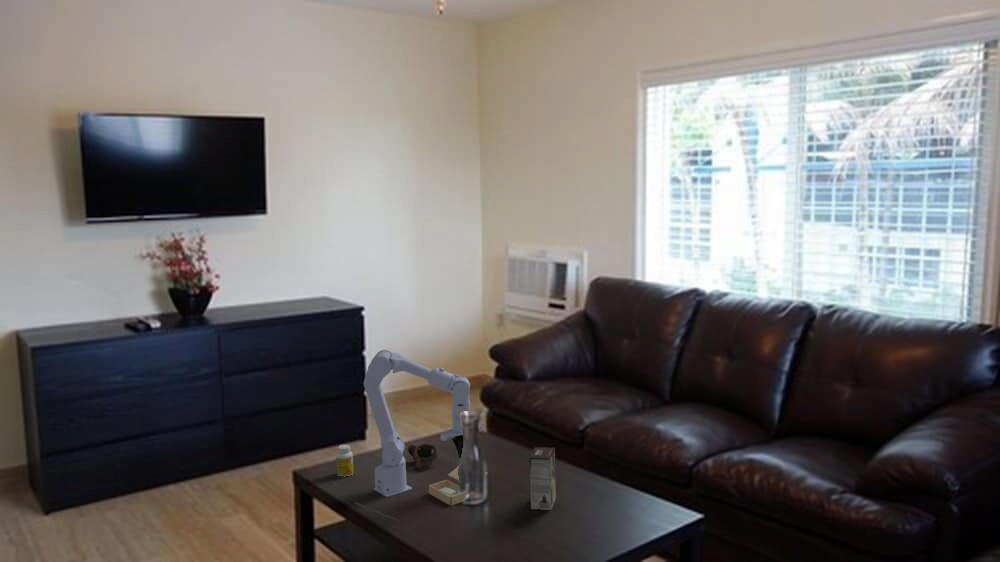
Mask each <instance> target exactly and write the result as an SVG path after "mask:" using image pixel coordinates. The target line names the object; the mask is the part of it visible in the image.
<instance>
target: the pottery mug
mask: <svg viewBox="0 0 1000 562" xmlns="http://www.w3.org/2000/svg"><path fill="white" fill-rule="evenodd" d="M432 451H433V452H432ZM407 452H408V454H409V455H410V456H411V458H413V461H416V462H415V467H416V468H417V469H419V468H422V467H425V466H429V465H432V464H433V463H434V462H435V461H436V460H437V459H439V455H438V452H439V450H437V447H436V446H435V445H434V444H431V443H428V442H424V443H420V444H418V445H414V444H410V445H409V446H408V447H407ZM420 459H421V460H420Z"/></svg>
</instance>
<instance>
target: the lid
mask: <svg viewBox="0 0 1000 562" xmlns="http://www.w3.org/2000/svg"><path fill="white" fill-rule="evenodd" d="M459 466H460V465H458V466H457V467H456V468H454V469H453V470H452V471H451V472H449V473H448V474H447V475H448V476H449V477H451V478H452V479H455V480H456V481H459V476H458V468H459ZM488 474H489V473H488V472H487V471H485V477H486V476H487V475H488Z"/></svg>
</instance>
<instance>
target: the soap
mask: <svg viewBox="0 0 1000 562" xmlns="http://www.w3.org/2000/svg"><path fill="white" fill-rule="evenodd" d="M439 490H440V491H442V492H444V493H446V494H448V495H450V496H453V495H456V494H457V491H455V490H453V489H450V488H447V487H444V488H442V489H439Z"/></svg>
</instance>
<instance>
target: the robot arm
mask: <svg viewBox="0 0 1000 562" xmlns="http://www.w3.org/2000/svg"><path fill="white" fill-rule="evenodd" d="M391 371H392V374H396V373H399V372H405V373H409V374H411V375H413V376H417V377H419V378H423V379H425V380H427V382H428V384H429V385H430V386H431V387H435V388H437V389H439V390H441V391H443V392H446V393H451V396H452V401H451V415H452V416H451V420H452V421H451V422H452V428H451V429H449V430H447V431H444V432H441V433H440V440H441V441H444V442H446V441H448V440H450V439H451V440H452V442H453V444H454V445H455V447H456V451H457V455H458V458H460V459H461V454H462V448H463V430H462V426H461V422H460V413H461V412H463V411H470V412H471V401H470V397H471V396H470V393H471V384H470V381H469V379H468V378H467V377H465V376H464V375H459V374H457V373H455V374H453V373H452V372H448V371H446V370H445V368H444V367H442V366H440V367H439V368H438V367H435V368H429V367H426V366H424V365H423V364H420V363H418V362H415V361H413V360H412V359H409V358H407V357H405V356H403V355H401V354H400V353H396V352H391V351H390V350H387V349H382V350H379V351H378V352H377V353H376V354H375V356H374V357H373V358H372V359H371V362H370V363H369V365H368V366H367V370H366V373H365V377H364V380H363V387H364V391H365V394H366V396H367V399H368V402H369V405H370V409H371V412H372V415H373V417H374V418H373V419H374V421H375V424H376V427H377V430H378V433H379V437H380V446H381V451H382V452H381V459H382V461H381V462H382V463H381V464H380V465H378V466H376V467H375V468H374V488H373V490H374V491H375V492H378V493H379V494H381V495H382V496H384V497H391V496H394V495H398V494H401V493H403V492H406V491H410V490H412V489H413V487H412V486H410V485H408V484H407V468H406V467H407V466H406V458H405V457H404V455H403V454H404V452H405V448H406V444H405V441H404V440H403V439H402V438H401V437H400V436H399V433H398V431H397V430H396V428H395V425H394V422H393V419H392V416H391V412H390V410H389V406H388V403H387V400H386V398H385V394H384V391H383V388H382V387H383V386H382V385H381V384H382V381H383V380H384V378H385V377H387V376H388V375H389V374H390V373H391ZM478 424H479V430H478V432H479V433H480V432H483V425H481V424H480V423H478Z"/></svg>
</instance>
